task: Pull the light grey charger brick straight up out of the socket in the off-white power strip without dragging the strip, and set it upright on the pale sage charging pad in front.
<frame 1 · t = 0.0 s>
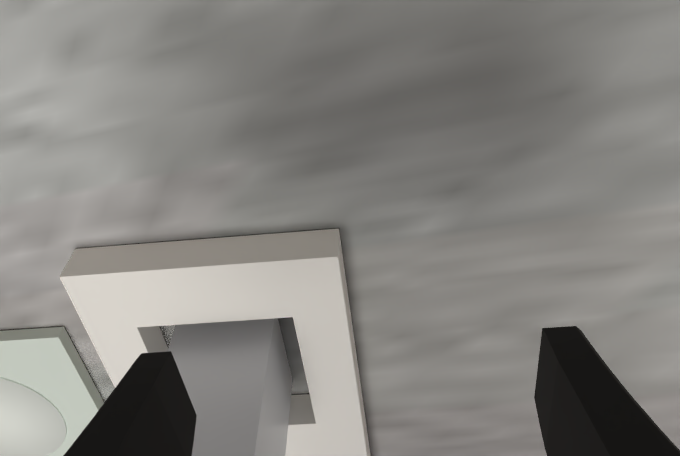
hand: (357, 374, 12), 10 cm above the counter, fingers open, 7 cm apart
charger: (238, 348, 27), resting in power strip
power strip: (251, 393, 29), on the counter
charging pad: (1, 407, 30), on the counter
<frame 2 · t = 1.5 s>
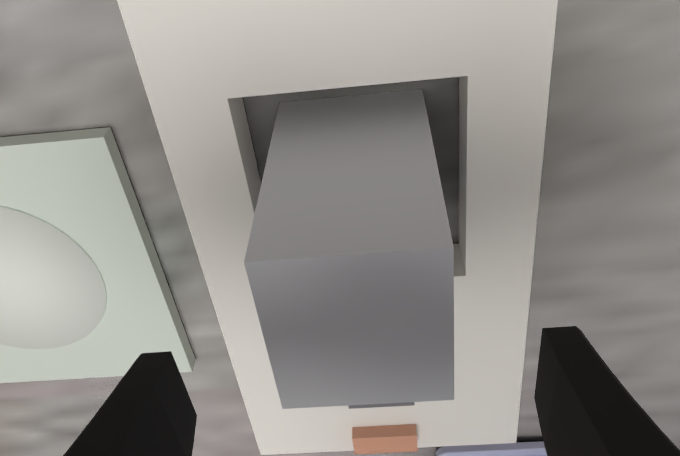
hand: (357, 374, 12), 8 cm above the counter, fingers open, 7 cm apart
charger: (357, 164, 19), resting in power strip
power strip: (366, 244, 21), on the counter
charging pad: (17, 270, 22), on the counter
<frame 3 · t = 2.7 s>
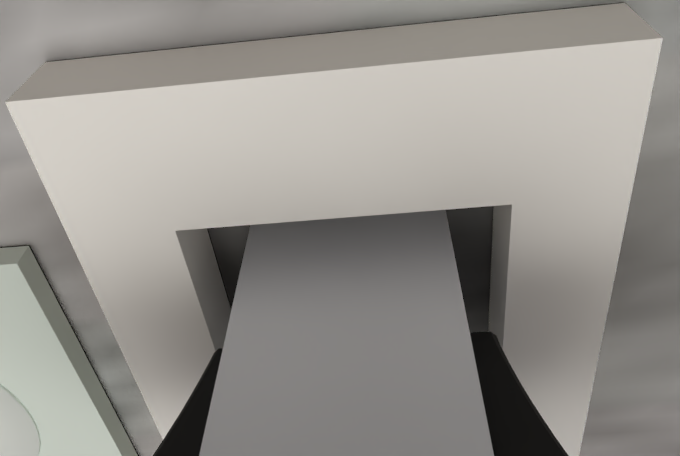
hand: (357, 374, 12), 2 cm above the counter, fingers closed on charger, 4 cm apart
charger: (357, 290, 14), resting in power strip, touching gripper
power strip: (368, 377, 16), on the counter
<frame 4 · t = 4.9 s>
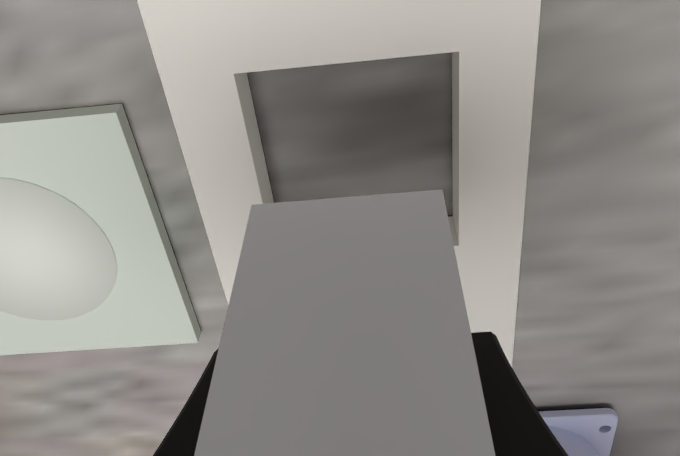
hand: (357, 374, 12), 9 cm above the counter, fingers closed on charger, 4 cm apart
charger: (356, 277, 14), point 7 cm above the counter, touching gripper
power strip: (364, 217, 22), on the counter
charging pad: (31, 243, 23), on the counter
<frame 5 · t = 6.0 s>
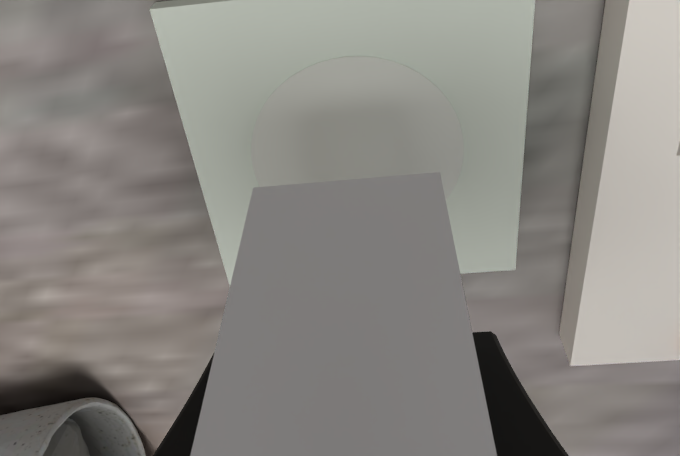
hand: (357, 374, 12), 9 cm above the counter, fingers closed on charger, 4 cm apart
ceramic mug: (74, 439, 30), on the counter
charger: (355, 260, 15), point 6 cm above the counter, touching gripper
charging pad: (356, 147, 20), on the counter
when the fingers open (4 cm above the counter, at t = 7.3 s): charger stays where it is, resting on charging pad.
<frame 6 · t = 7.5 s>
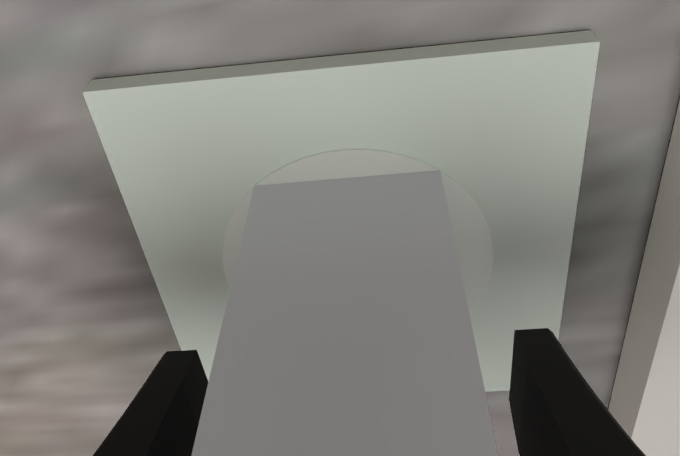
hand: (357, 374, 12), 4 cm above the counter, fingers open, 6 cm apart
charger: (356, 258, 15), point 1 cm above the counter, touching charging pad
charging pad: (356, 249, 16), on the counter
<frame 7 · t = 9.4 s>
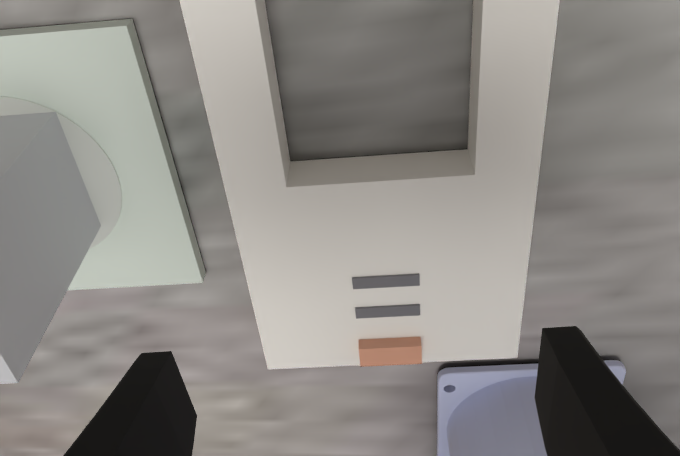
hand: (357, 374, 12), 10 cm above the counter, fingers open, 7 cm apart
charger: (22, 176, 21), point 1 cm above the counter, touching charging pad
power strip: (377, 148, 21), on the counter
charging pad: (34, 172, 22), on the counter
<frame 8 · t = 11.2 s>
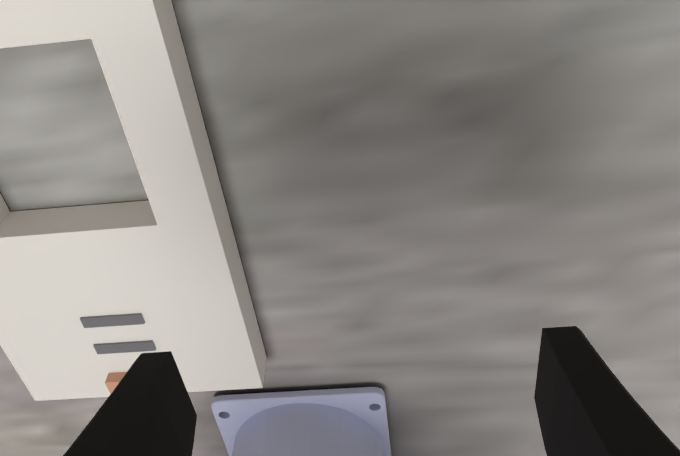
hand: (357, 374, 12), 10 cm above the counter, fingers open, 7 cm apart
power strip: (86, 199, 23), on the counter
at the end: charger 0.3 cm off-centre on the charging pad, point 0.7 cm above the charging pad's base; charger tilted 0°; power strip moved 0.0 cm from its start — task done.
